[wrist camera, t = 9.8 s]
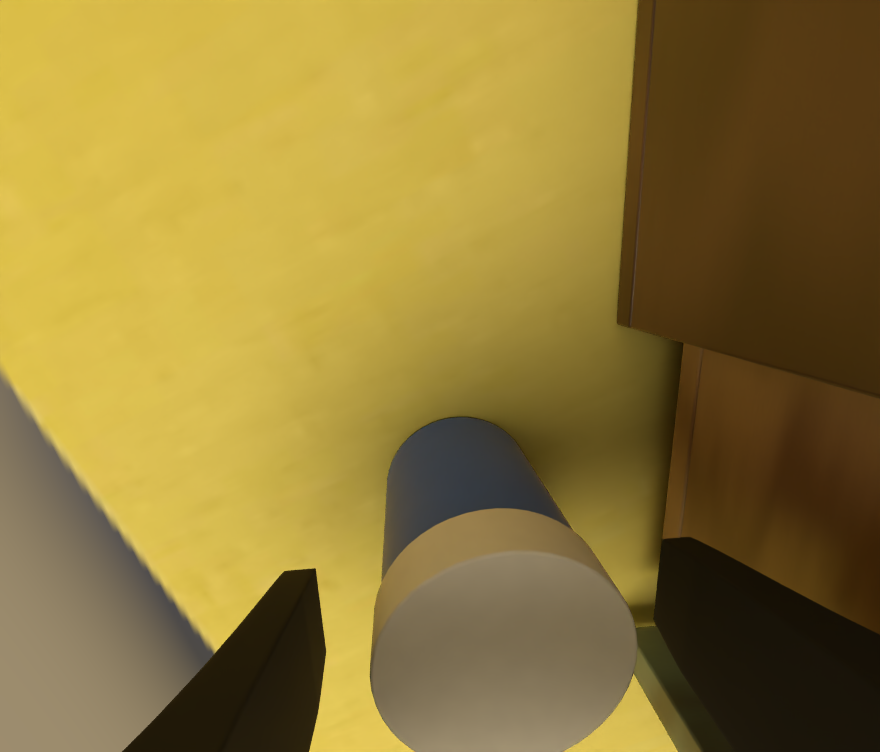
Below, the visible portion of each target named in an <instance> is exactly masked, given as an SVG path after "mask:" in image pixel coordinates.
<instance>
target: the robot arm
mask: <svg viewBox="0 0 880 752" xmlns="http://www.w3.org/2000/svg"><path fill="white" fill-rule="evenodd" d="M653 619H654V621H655V623H656V625H657V627H658V629H659V631H660V633H661V635H662V637H663V639H664V641H665V643H666V645H667V647H668V649H669V651H670V653H671V655H672V656H673V658H674V660H675V662H676V664H677V666H678V667H679V669H680V671H681V673H682V674H683V676H684V677H685V679H686V680H687V682H688V683H689V685H690V686H691V688H692V689H693V691H694V692H695V694H696V695H697V697H698V698H699V700H700V701H701V703H702V704H703V706H704V707H705V709H706V710H707V712H708V713H709V715H710V716H711V718H712V719H713V721H714V722H715V724H716V725H717V727H718V728H719V730H720V731H721V733H722V734H723V736H724V737H725V739H726V740H727V742H728V743H729V744H730V746H731V747H732V749H733V750H734V752H880V634H878V633H876V632H874V631H872V630H869V629H867V628H865V627H863V626H861V625H859V624H857V623H855V622H853V621H851V620H849V619H847V618H845V617H843V616H841V615H839V614H837V613H835V612H833V611H832V610H830V609H828V608H826V607H824V606H822V605H820V604H818V603H816V602H814V601H812V600H810V599H808V598H807V597H805V596H803V595H801V594H799V593H797V592H795V591H793V590H791V589H790V588H788V587H786V586H784V585H782V584H780V583H778V582H776V581H775V580H773V579H771V578H769V577H767V576H765V575H763V574H762V573H760V572H758V571H756V570H754V569H752V568H750V567H749V566H747V565H745V564H743V563H741V562H739V561H737V560H736V559H734V558H732V557H730V556H728V555H726V554H724V553H722V552H720V551H719V550H717V549H715V548H713V547H711V546H709V545H707V544H705V543H703V542H701V541H698V540H696V539H694V538H692V537H680V538H668V539H662V545H661V554H660V563H659V572H658V581H657V591H656V600H655V609H654V618H653ZM325 656H326V647H325V639H324V631H323V623H322V615H321V608H320V600H319V592H318V584H317V576H316V568H315V569H303V570H291V571H284V572H283V573H282V574H281V575H280V576H279V578H278V579H277V580H276V581H275V582H274V584H273V585H272V586H271V587H270V588H269V590H268V591H267V592H266V593H265V595H264V596H263V597H262V598H261V599H260V601H259V602H258V603H257V604H256V606H255V607H254V608H253V609H252V610H251V612H250V613H249V614H248V615H247V616H246V618H245V619H244V620H243V621H242V622H241V624H240V625H239V626H238V627H237V628H236V630H235V631H234V632H233V633H232V634H231V635H230V637H229V638H228V639H227V640H226V641H225V642H224V644H223V645H222V646H221V647H220V648H219V649H218V650H217V652H216V653H215V654H214V655H213V656H212V658H211V659H210V660H209V661H208V662H207V663H206V664H205V665H204V667H203V668H202V669H201V670H200V671H199V672H198V673H197V674H196V675H195V677H194V678H193V679H192V680H191V681H190V682H189V683H188V684H187V685H186V686H185V687H184V688H183V690H181V692H180V693H179V694H178V695H177V696H176V697H175V698H174V699H173V700H172V701H171V702H170V703H169V704H168V705H167V706H166V707H165V709H164V710H163V711H162V712H161V713H160V714H159V715H158V716H157V717H156V718H155V719H154V720H153V721H152V722H151V723H150V724H149V725H148V727H146V728H145V729H144V730H143V731H142V733H141V734H140V735H138V736H137V737H136V738H135V739H134V740H133V741H132V742H131V744H129V745H128V747H126V748H125V749H124V750H123V751H122V752H309V749H310V745H311V741H312V736H313V732H314V728H315V723H316V719H317V714H318V709H319V702H320V695H321V688H322V680H323V672H324V664H325Z"/></svg>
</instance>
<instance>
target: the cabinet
mask: <svg viewBox="0 0 880 752" xmlns="http://www.w3.org/2000/svg"><path fill="white" fill-rule="evenodd" d="M617 323H618V324H619V325H622V326H626V327H629V328H634V329H637V330H640V331H644V332H647V333H651V334H654V335H658V336H661V337H665V338H668V339H672V340H675V341H679V342H682V343H686V344H689V345H693V346H696V347H700V348H703V349H707V350H710V351H714V352H717V353H721V354H724V355H728V356H731V357H735V358H738V359H742V360H745V361H749V362H752V363H756V364H759V365H763V366H766V367H770V368H773V369H777V370H780V371H784V372H787V373H791V374H794V375H798V376H801V377H805V378H808V379H812V380H815V381H819V382H822V383H826V384H829V385H833V386H836V387H840V388H843V389H847V390H850V391H854V392H857V393H861V394H864V395H868V396H871V397H875V398H878V399H880V0H639V7H638V21H637V36H636V51H635V65H634V80H633V94H632V109H631V124H630V138H629V153H628V168H627V182H626V197H625V212H624V226H623V241H622V256H621V270H620V285H619V300H618V314H617Z"/></svg>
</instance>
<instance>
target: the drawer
mask: <svg viewBox="0 0 880 752" xmlns="http://www.w3.org/2000/svg"><path fill="white" fill-rule="evenodd" d="M680 537H692V538H694V539H696V540H698V541H701V542H703V543H705V544H707V545H709V546H711V547H713V548H715V549H717V550H719V551H720V552H722V553H724V554H726V555H728V556H730V557H732V558H734V559H736V560H737V561H739V562H741V563H743V564H745V565H747V566H749V567H750V568H752V569H754V570H756V571H758V572H760V573H762V574H763V575H765V576H767V577H769V578H771V579H773V580H775V581H776V582H778V583H780V584H782V585H784V586H786V587H788V588H790V589H791V590H793V591H795V592H797V593H799V594H801V595H803V596H805V597H807V598H808V599H810V600H812V601H814V602H816V603H818V604H820V605H822V606H824V607H826V608H828V609H830V610H832V611H833V612H835V613H837V614H839V615H841V616H843V617H845V618H847V619H849V620H851V621H853V622H855V623H857V624H859V625H861V626H863V627H865V628H867V629H869V630H872V631H874V632H876V633H878V634H880V399H878V398H875V397H871V396H868V395H864V394H861V393H857V392H854V391H850V390H847V389H843V388H840V387H836V386H833V385H829V384H826V383H822V382H819V381H815V380H812V379H808V378H805V377H801V376H798V375H794V374H791V373H787V372H784V371H780V370H777V369H773V368H770V367H766V366H763V365H759V364H756V363H752V362H749V361H745V360H742V359H738V358H735V357H731V356H728V355H724V354H721V353H717V352H714V351H710V350H707V349H703V348H700V347H696V346H693V345H689V344H686V343H684V345H683V354H682V363H681V372H680V382H679V391H678V400H677V409H676V419H675V428H674V437H673V446H672V455H671V465H670V474H669V483H668V492H667V501H666V511H665V520H664V529H663V538H662V539H668V538H680ZM636 633H637V645H638V647H637V660H636V665H635V669H634V675H635V676H636V678H637V680H638V682H639V684H640V685H641V687H642V689H643V691H644V692H645V694H646V696H647V698H648V699H649V701H650V703H651V705H652V706H653V708H654V710H655V712H656V713H657V715H658V717H659V719H660V721H661V722H662V724H663V726H664V728H665V729H666V731H667V733H668V735H669V736H670V738H671V740H672V742H673V743H674V745H675V747H676V749H677V750H678V752H734V750H733V749H732V747H731V746H730V744H729V743H728V742H727V740H726V739H725V737H724V736H723V734H722V733H721V731H720V730H719V728H718V727H717V725H716V724H715V722H714V721H713V719H712V718H711V716H710V715H709V713H708V712H707V710H706V709H705V707H704V706H703V704H702V703H701V701H700V700H699V698H698V697H697V695H696V694H695V692H694V691H693V689H692V688H691V686H690V685H689V683H688V682H687V680H686V679H685V677H684V676H683V674H682V673H681V671H680V669H679V667H678V666H677V664H676V662H675V660H674V658H673V656H672V655H671V653H670V651H669V649H668V647H667V645H666V643H665V641H664V639H663V637H662V635H661V633H660V631H659V629H658V627H657V626H647V627H637V628H636Z"/></svg>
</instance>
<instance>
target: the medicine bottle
mask: <svg viewBox="0 0 880 752" xmlns="http://www.w3.org/2000/svg"><path fill="white" fill-rule="evenodd" d="M637 647H638V645H637V633H636V627H635V623H634V620H633V616H632V614H631V611H630V609H629V607H628V605H627V603H626V601H625V600H624V598H623V597H622V595H621V594H620V592H619V590H618V589H617V587H616V586H615V584H614V583H613V581H612V580H611V578H610V577H609V575H608V574H607V572H606V571H605V569H604V568H603V566H602V565H601V563H600V562H599V560H598V559H597V557H596V556H595V554H594V553H593V551H592V550H591V548H590V547H589V546H588V545H587V544H586V542H585V541H584V540H583V539H582V538H581V537H580V536H579V535H578V534H576V533H575V532H574V531H573V530H572V528H571V527H570V525H569V524H568V522H567V520H566V519H565V517H564V516H563V514H562V513H561V511H560V510H559V508H558V506H557V505H556V503H555V502H554V500H553V499H552V497H551V496H550V494H549V492H548V491H547V489H546V488H545V486H544V485H543V483H542V482H541V480H540V479H539V477H538V475H537V474H536V472H535V471H534V469H533V468H532V466H531V465H530V463H529V461H528V460H527V458H526V457H525V455H524V454H523V452H522V451H521V449H520V448H519V446H518V444H517V443H516V442H515V441H514V439H513V438H512V437H511V436H510V435H509V434H507V433H506V432H505V431H504V430H502V429H501V428H499V427H498V426H496V425H494V424H492V423H489V422H487V421H484V420H480V419H475V418H469V417H456V418H448V419H443V420H439V421H436V422H433V423H431V424H429V425H427V426H425V427H423V428H421V429H420V430H418V431H417V432H415V433H414V434H413V435H412V436H410V437H409V438H408V439H407V440H406V441H405V442H404V443H403V444H402V446H401V447H400V448H399V450H398V451H397V453H396V454H395V456H394V458H393V460H392V463H391V466H390V469H389V473H388V478H387V494H386V511H385V528H384V545H383V563H382V580H381V585H380V588H379V591H378V594H377V598H376V603H375V608H374V622H373V635H372V649H371V663H370V682H371V690H372V694H373V697H374V701H375V704H376V707H377V709H378V711H379V713H380V715H381V717H382V719H383V720H384V722H385V723H386V725H387V726H388V727H389V729H390V730H391V731H392V732H393V733H394V734H395V736H396V737H397V738H398V739H399V740H400V741H402V742H403V743H404V744H405V745H407V746H408V747H409V748H411V749H412V750H414V751H415V752H563V751H565V750H567V749H569V748H570V747H572V746H574V745H575V744H577V743H579V742H580V741H581V740H583V739H584V738H586V737H587V736H588V735H590V734H591V733H592V732H593V731H594V730H596V729H597V728H598V727H599V726H600V725H601V724H602V723H603V722H604V721H605V720H606V719H607V718H608V717H609V716H610V714H611V713H612V712H613V711H614V709H615V708H616V707H617V705H618V704H619V702H620V701H621V700H622V698H623V696H624V694H625V692H626V690H627V688H628V687H629V684H630V681H631V679H632V676H633V673H634V669H635V665H636V660H637Z"/></svg>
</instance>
